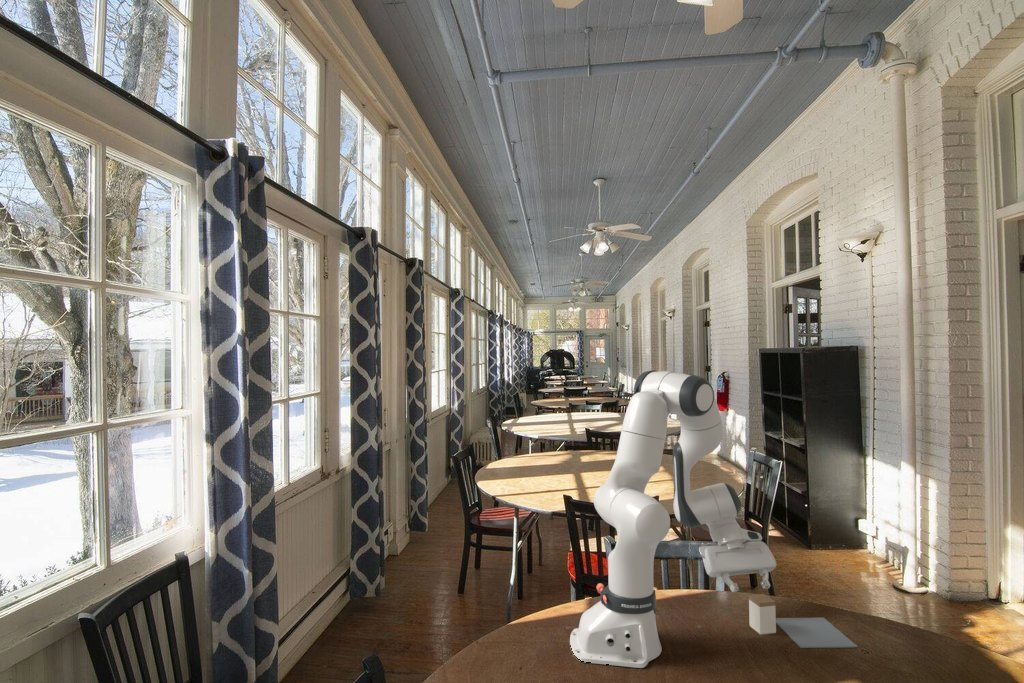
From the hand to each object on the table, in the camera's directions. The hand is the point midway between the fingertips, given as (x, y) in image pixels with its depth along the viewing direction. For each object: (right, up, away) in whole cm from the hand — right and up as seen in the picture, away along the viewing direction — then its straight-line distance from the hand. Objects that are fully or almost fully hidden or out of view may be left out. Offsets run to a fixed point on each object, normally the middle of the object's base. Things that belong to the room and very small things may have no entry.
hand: (751, 589), depth 141 cm
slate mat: (+13, -8, -7) cm, 17 cm away
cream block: (+1, -8, -5) cm, 10 cm away
